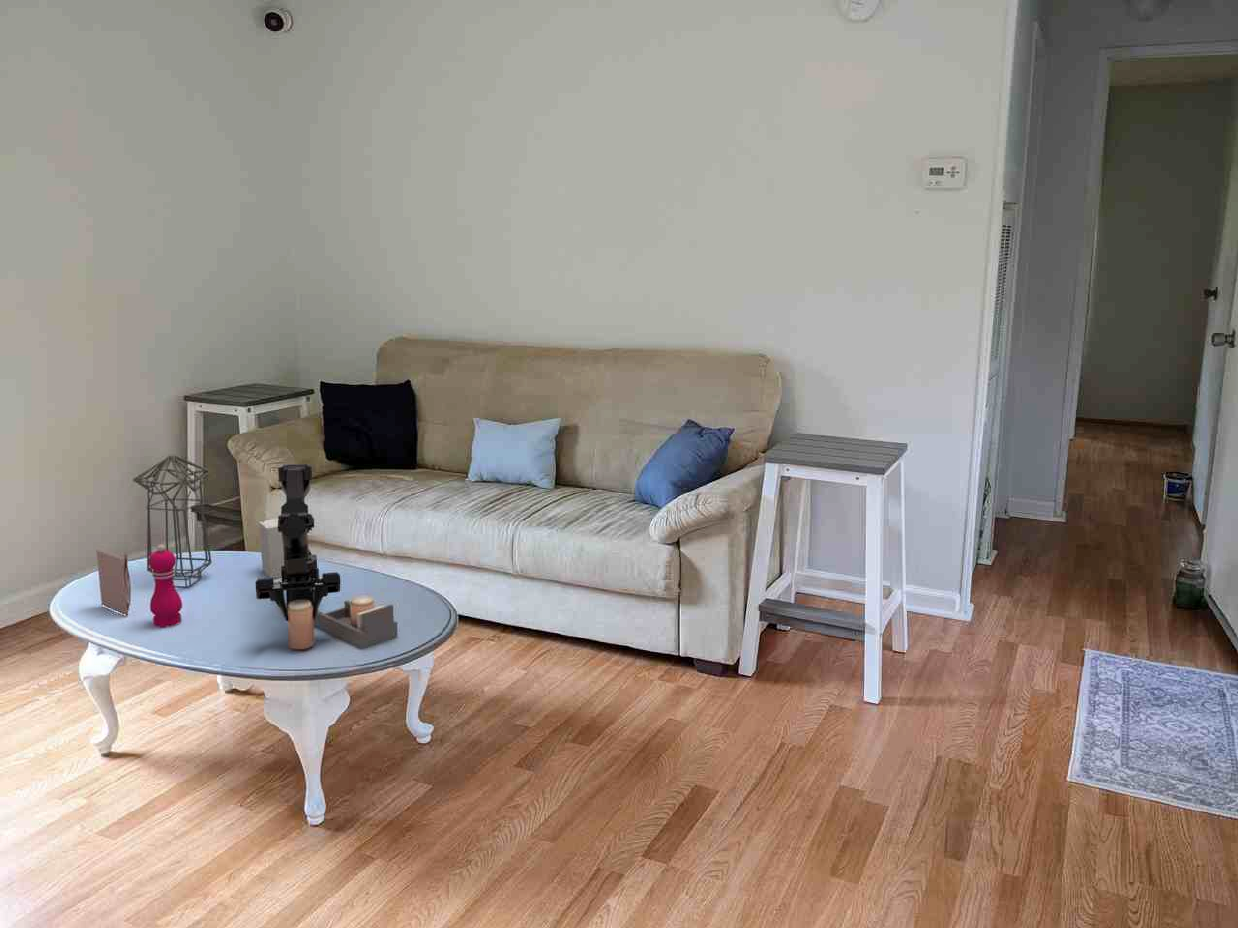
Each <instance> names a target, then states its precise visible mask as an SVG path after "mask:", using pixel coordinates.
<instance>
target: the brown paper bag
mask: <svg viewBox="0 0 1238 928" xmlns="http://www.w3.org/2000/svg"><path fill="white" fill-rule="evenodd" d="M95 551H96V562H97V570H98V571H97V573H98V579H99V581H98V582H99V591H100V600H101V601H100V602H101V606H102V605H104V606H106V607H108V608H111V609H113V610H115V611H118V612H120V613H122V614H125V615H126V616H128V617H129V613H128V611H129V612H130V608H129V606H130V607H131V603H130V601H131V602H132V597H131V594H132V593H131V592H132V591H131V590H132V587H131V585H132V584H131V578H130V574H129V566H128V552H127V545H125V547H124V550H123V554H122V558H119V557H117V556H114V555H111V554H108V553H105V552H103V551H100V550H95ZM126 616H125V617H126Z"/></svg>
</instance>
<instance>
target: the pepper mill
mask: <svg viewBox="0 0 1238 928" xmlns="http://www.w3.org/2000/svg"><path fill="white" fill-rule="evenodd" d="M156 549H157V551H155V552H153V553H152V555H151V556H149V568H150V567H151V568H152V573H151V574H152V575H151V577H152V578H153V579H154V590H153V593H152V596H151V599H150V602H149V611H150V612H151V613H152V614H153V615H154V616H153V618H152V621H153V625H154V626H155V625H156V626H155V627H157V626H159V627H158V628H167V627H166V626H171V627H173V626H172V625H175V624H177V623H179V622H180V623H182V614H181V613H180V611H181V610H182V608H183V602H182V599H181V596H180V594H179V593H178V591H177V589H176V587H175V586H176V585H175V584H174V580H173V578H174V577H173V576H175V573H174V572H175V571H174V569H175V568H174V567H175V566H176V555H175V554H174V553H173V552H172V551H169V550H168V551H167V550H166V545H165V544H159V545H158V546H157V548H156ZM180 623H179V624H180ZM177 625H178V624H177ZM175 626H176V625H175Z"/></svg>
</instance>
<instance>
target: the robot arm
mask: <svg viewBox="0 0 1238 928" xmlns="http://www.w3.org/2000/svg"><path fill="white" fill-rule="evenodd" d="M277 470H278V471H277V472H278V473H277V474H278V476H277V477H278V483H279V484H280V483H281V488H282V491H283V493H284V495H285V496H286V498H285V499H286V501H285V503H284V504H283V505H282V506H281V507H280V509H281V510H280V515H278V516H277V518H278V532H281V534H282V542H283V552H284V566H281V577H280V578H281V581H274V578H270V577H265V578H264V577H263V578H257V579H256V581H255V594H256V599H257V600H265V599H266V600H267V599H269V601H270V602H275V604H276V605H277V607H278V608H279V610H280V612H281V614H282V615H283V618H284V620H285V622H287V623H288V613H287V607H288V604H289V603H290V602H292V601H295V600H309V601H311V604H312V605H313V619H315V618H316V614H317V611H319V608H320V604H321V602H322V601H323V598H324V597H328V595H329V594H333V593H334V594H335V593H339V592H341V582H342V581H341V575H340V573H338V572H337V571H336V572H325V573H324V572H323V573H321V574H322V577H321V578H320V569H319V568H318V557H317V554H316V553H315V554H312V552H311V551H310V549H309V548H310V547H309V539H308V533H310V531H312V530H313V528H315V518H314V517H313V515H312V513H309V505H308V504H306V503H305V498H306V497H307V495H308V494H309V492H310V490H311V483H310V482H313V466H309V465H308V464H307V463H297V464H283V465H282V466H281V467H278V469H277ZM284 592H285V594H284ZM285 596H286V597H285ZM285 598H286V599H285Z"/></svg>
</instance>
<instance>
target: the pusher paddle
mask: <svg viewBox="0 0 1238 928" xmlns="http://www.w3.org/2000/svg"><path fill="white" fill-rule="evenodd" d="M384 606H385V605H381V606H377V607H375V608H374V609H371V610H367V611H364V612H361V613H358V614H357V624H358V629H359V630H361V631H363V613H365V612H369V611H372V610H375V609H378V608H381V607H384Z"/></svg>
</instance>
